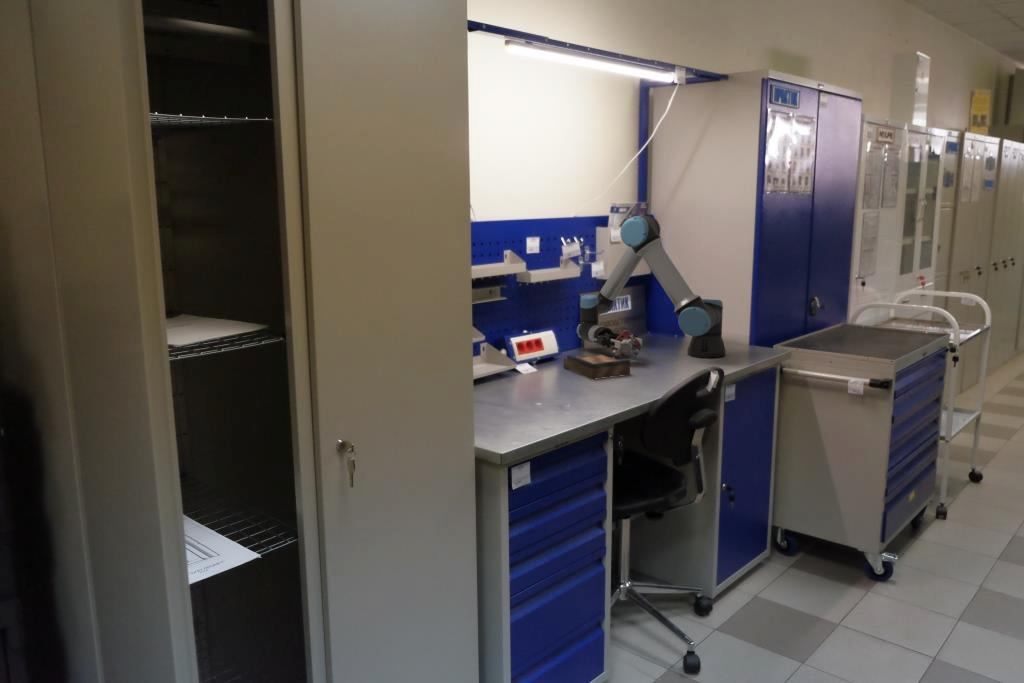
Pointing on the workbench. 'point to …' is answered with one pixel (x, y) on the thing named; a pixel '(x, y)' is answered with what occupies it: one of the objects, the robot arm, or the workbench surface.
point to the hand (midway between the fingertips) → (630, 343)
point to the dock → (597, 366)
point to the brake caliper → (627, 346)
